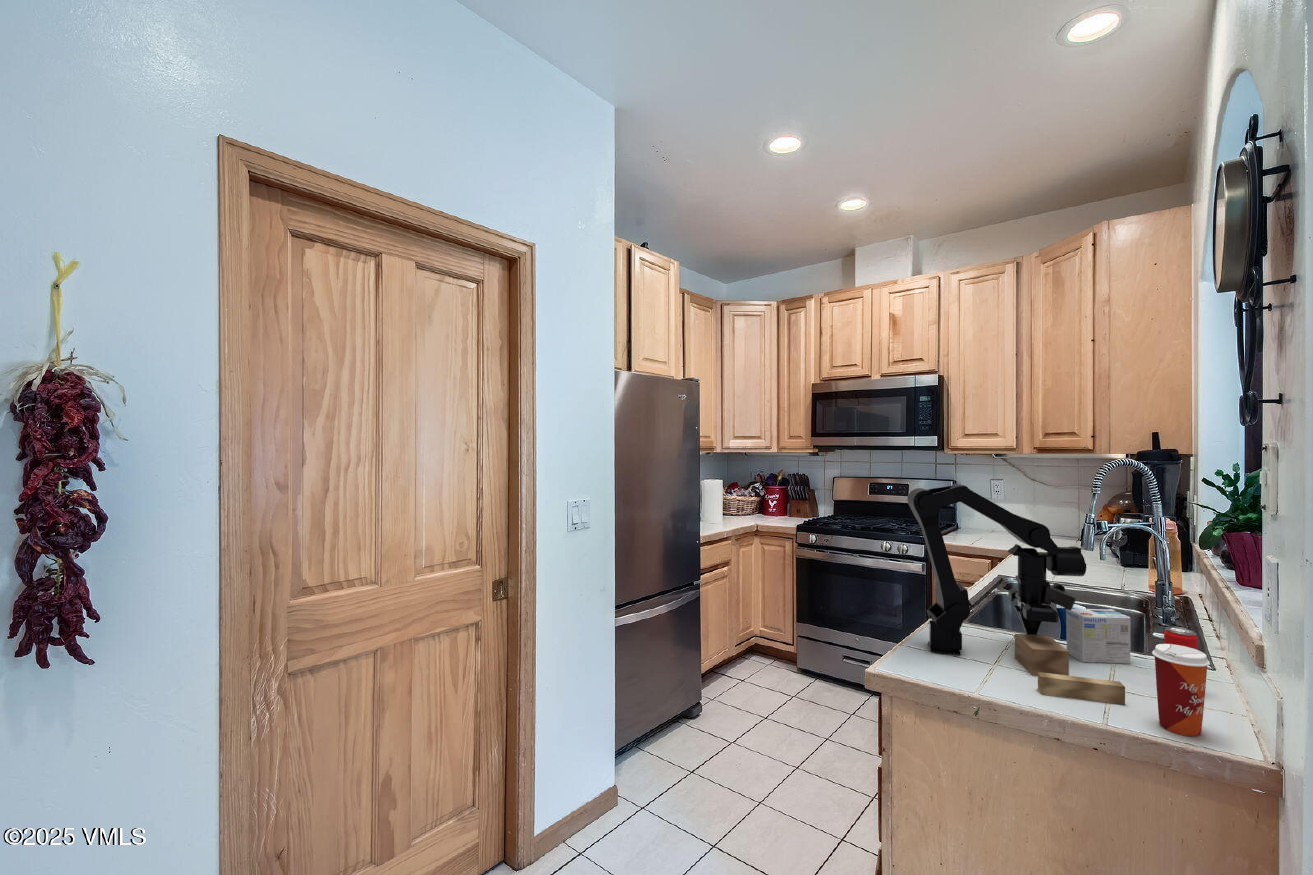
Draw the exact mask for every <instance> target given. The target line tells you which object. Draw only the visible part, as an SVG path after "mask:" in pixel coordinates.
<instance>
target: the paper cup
mask: <svg viewBox="0 0 1313 875" xmlns="http://www.w3.org/2000/svg"><path fill="white" fill-rule="evenodd" d="M1151 654H1152V655H1153V656H1154V666H1155V667H1154V668H1155V681H1156V682H1155V683H1156V696H1157V697H1156V698H1157V700H1156V701H1157V711H1158V723H1159V726H1160V727H1161V728H1162V729H1164V730H1166V731H1168V732H1171V733H1172V734H1177V735H1178V736H1179V735H1181V736H1184V737H1195V738H1196V737H1199V736H1201V734H1202V729H1203V719H1204V718H1203V717H1204V712H1205V711H1204V710H1205V700H1206V699H1205V698H1206V697H1205V696H1206V687H1207V685H1206V684H1207V675H1208V674H1207V673H1208V666H1210V665H1211V663H1210V661H1209V660H1208V657H1207V654H1206V653H1205V652H1202V651H1201V650H1196V649H1193V648H1189V647H1185V646H1180V645H1173V644H1171V645H1170V644H1164V643H1159V644H1156V645H1155V648H1154V650H1152V652H1151Z"/></svg>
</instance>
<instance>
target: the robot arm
mask: <svg viewBox="0 0 1313 875" xmlns="http://www.w3.org/2000/svg"><path fill="white" fill-rule="evenodd" d="M906 498H907V500H906V501H907V504H908V506H909V508H910V510H911V513H912V514H913V516H914V517H915V519H916V521H917V522H918V525H919V526H920V528H921V532H922V536H923V539H924V541H925V542H924V543H925V546H926V550H927V553H928V556H929V557H928V558H929V560H930V563H931V566H932V570H933V573H934V577H935V581H936V582H935V583H936V584H935V585H936V586H935V598H936V602H935V603H933V604H932V605H931V606H930V607H929V608H928V609H927V610H926V613H927V615H928V618H929V619H931V620H929V622H928V623H929V626H928V628H929V633H928V634H929V640H928V643H927V644H928V647H929V650H930V652H931V653H937V654H946V655H955V656H960V655H962V654H961V653H962V652H961V651H962V650H963V633H962V631H961V628H962V626H963V623H964V621H965V620H967V619H968V618H969V616H970V615H971V608H972V607H973V605H972V603H971V602H970V599H969V591H968V589H967V588H966V587H964V585H962V584H961V583H957V582H956V579H955V578H956V577H955V575H954V572H953V568H952V564H951V561H950V557H949V554H948V551H947V548H946V547H947V546H946V543H945V540H944V537H943V534H942V533H943V532H942V530H941V526H940V523H941V522H940V521H941V520H940V519H941V510H940V509H941V508H944V507H948V506H950V505H954V504H956V503H961V504H963V505H965V506H966V507H968V508H970V509H972V510H973V511H975V512H977V513H979V514H981V515H982V516H984V517H986V518H987V519H990V520H991V521H992V522H995V523H997V524H999V525H1000V526H1001V527H1003V529H1005V530H1006V532H1008V533H1009V534H1010V535H1011V536H1012V537H1014V538H1015V539H1016V540H1017V541H1019V542H1021V543H1023V544H1024V545H1027V546H1029V547H1022V545H1019V544H1017V543H1015V544H1014V545H1013V547H1011V548H1009V549H1008V550H1007V554H1010V555H1012V556H1015V557H1017V575H1015V581H1016V582H1017V587H1012V588H1010V589H1009V590H1008V593H1007V594H1008V596H1007V597H1008V600H1009V601H1010V602H1014V601H1015V600H1016V601H1017V605H1014V610H1015V611H1016V615H1017V616H1018V619H1019V620H1020V621H1019V622H1020V623H1021V624H1022V628H1023V629H1024V632H1025V634H1032V635H1038V632H1039V630H1040V626H1041V624H1042V623H1043V622H1045V623H1059V612H1057V611H1056V610H1055V609H1054V608H1053V607H1052V606H1051V605H1052V604H1054V605H1057V606H1060V607H1062V608H1064V609H1065V610H1066V609H1067V610H1070V611H1071V610H1072V609H1074V608H1073V607H1074V605H1075V603H1076V600H1077V597H1076V596H1075V595H1073V594H1071V593H1070V592H1068V591H1066V587H1065V586H1064V585H1062V584H1060V583H1057V582H1055V583H1053V584H1052V585H1051V583H1050V581H1048V580H1047V572H1050V573H1051V575H1052V576H1057V577H1058V576H1062V577H1063V576H1064V577H1084V576H1086V572H1087V563H1086V560H1085V557H1084V556H1083V554H1082V548H1081V547H1078V546H1072V545H1071V546H1058V545H1057V544H1056V542H1055V541H1054V540H1053V539H1052V538H1051V531H1050V528H1048V526H1046V525H1045V524H1042V523H1040V522H1037V521H1034V520H1032V519H1028V518H1026V517H1022V516H1020V515H1017V514H1014V513H1012V512H1010V511H1009V510H1007V509H1006V508H1004V507H1003V506H1000V505H998V504H996V503H995V502H993V501H991V500H989V499H988V498H987V497H984V496H982V495H980V494H979V493H977V492H975V491H973V490H972V489H970V488H969V487H968V486H967V485H965V484H962V483H961V484H960V483H952V485H946V486H942V487H941V486H940V487H934V488H933V487H932V488H929V489H925V488H924V487H916V488H913V490H910V492H909V494H908V495H907V497H906ZM1037 549H1041V550H1043V551H1044V552H1043V551H1038V550H1037Z"/></svg>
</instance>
